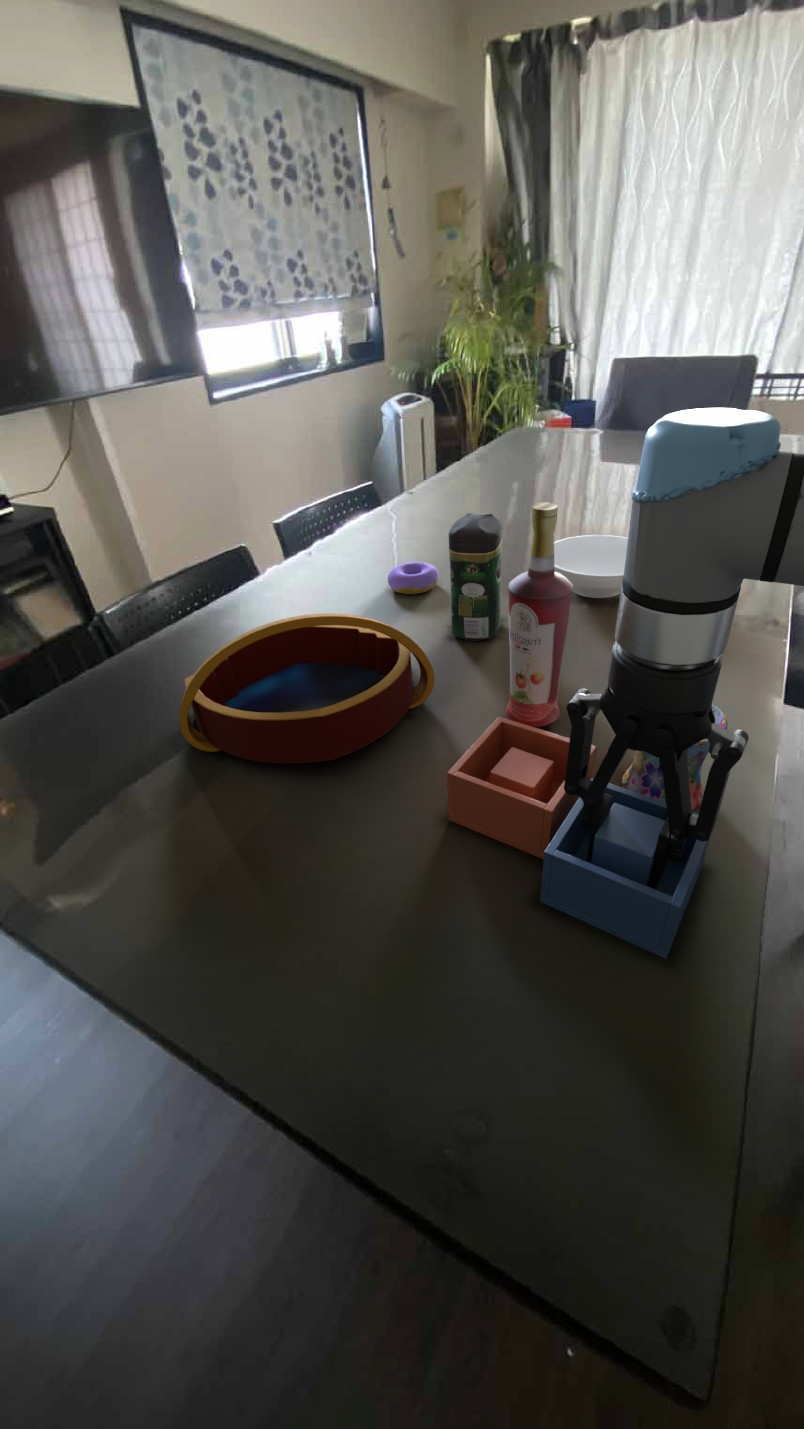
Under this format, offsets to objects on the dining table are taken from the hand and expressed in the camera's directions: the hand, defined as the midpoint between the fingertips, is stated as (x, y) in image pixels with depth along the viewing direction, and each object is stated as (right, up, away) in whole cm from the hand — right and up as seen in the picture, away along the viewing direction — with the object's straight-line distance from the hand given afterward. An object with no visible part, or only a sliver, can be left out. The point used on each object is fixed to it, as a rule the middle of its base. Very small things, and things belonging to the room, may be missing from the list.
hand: (625, 864), depth 60 cm
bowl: (+14, +36, +56) cm, 68 cm away
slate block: (0, 0, 0) cm, 0 cm away
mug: (+8, +6, +13) cm, 16 cm away
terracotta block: (-8, +4, +11) cm, 14 cm away
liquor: (-4, +13, +25) cm, 28 cm away
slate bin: (0, -2, +2) cm, 3 cm away
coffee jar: (-9, +28, +47) cm, 55 cm away
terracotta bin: (-8, +4, +11) cm, 14 cm away
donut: (-19, +38, +63) cm, 76 cm away
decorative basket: (-33, +13, +29) cm, 46 cm away
